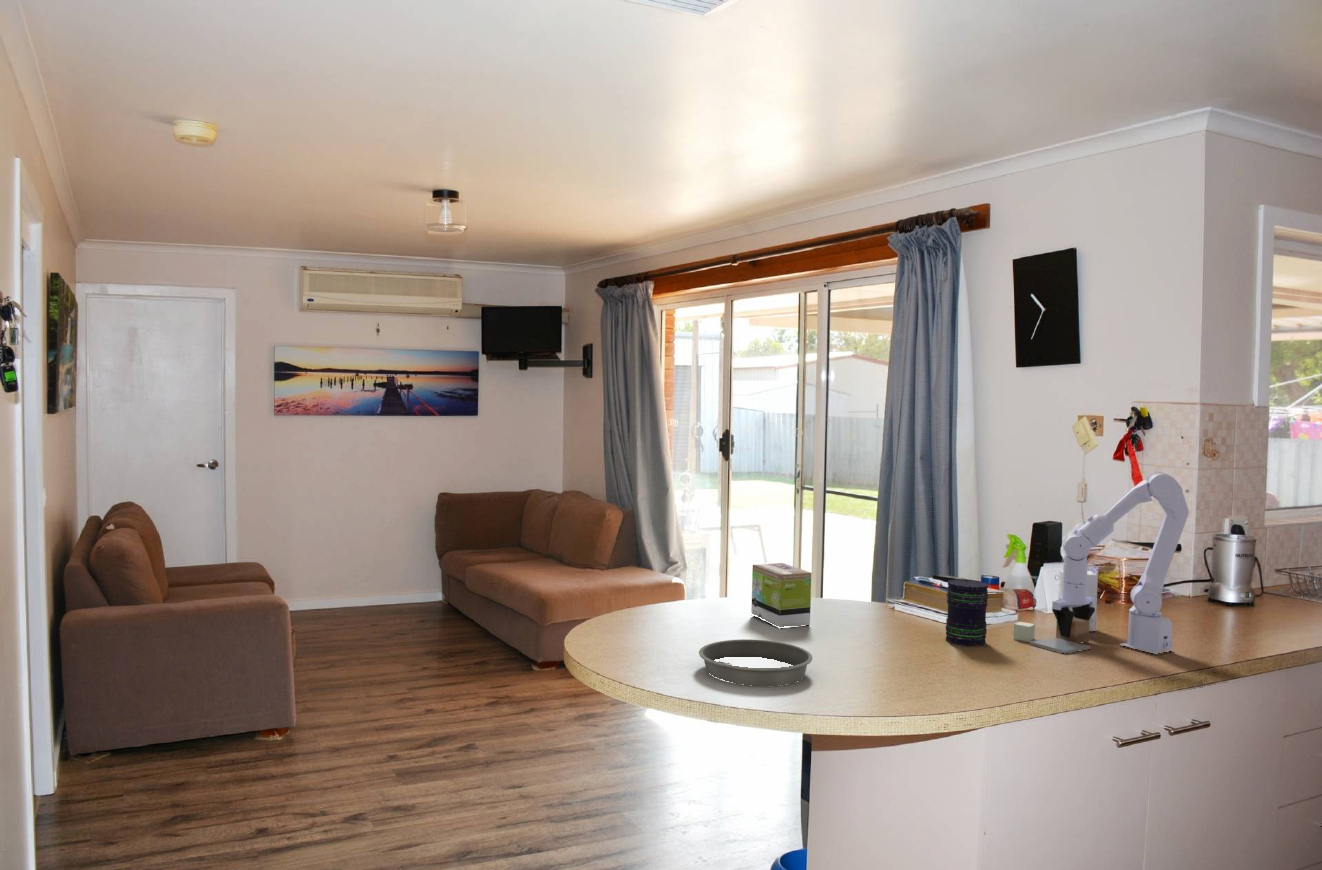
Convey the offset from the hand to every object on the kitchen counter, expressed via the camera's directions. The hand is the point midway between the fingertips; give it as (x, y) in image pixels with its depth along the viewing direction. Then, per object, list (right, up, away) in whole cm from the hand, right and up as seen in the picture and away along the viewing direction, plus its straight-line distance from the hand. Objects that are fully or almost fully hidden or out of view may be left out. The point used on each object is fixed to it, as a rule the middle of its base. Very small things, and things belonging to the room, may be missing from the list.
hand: (1072, 635), depth 243 cm
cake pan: (-85, -1, -37) cm, 93 cm away
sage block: (-12, -1, 0) cm, 12 cm away
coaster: (-6, -2, -7) cm, 10 cm away
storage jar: (-29, -1, -4) cm, 29 cm away
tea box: (-74, +1, +12) cm, 75 cm away
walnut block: (0, -1, 0) cm, 1 cm away
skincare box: (+7, -1, +14) cm, 15 cm away
